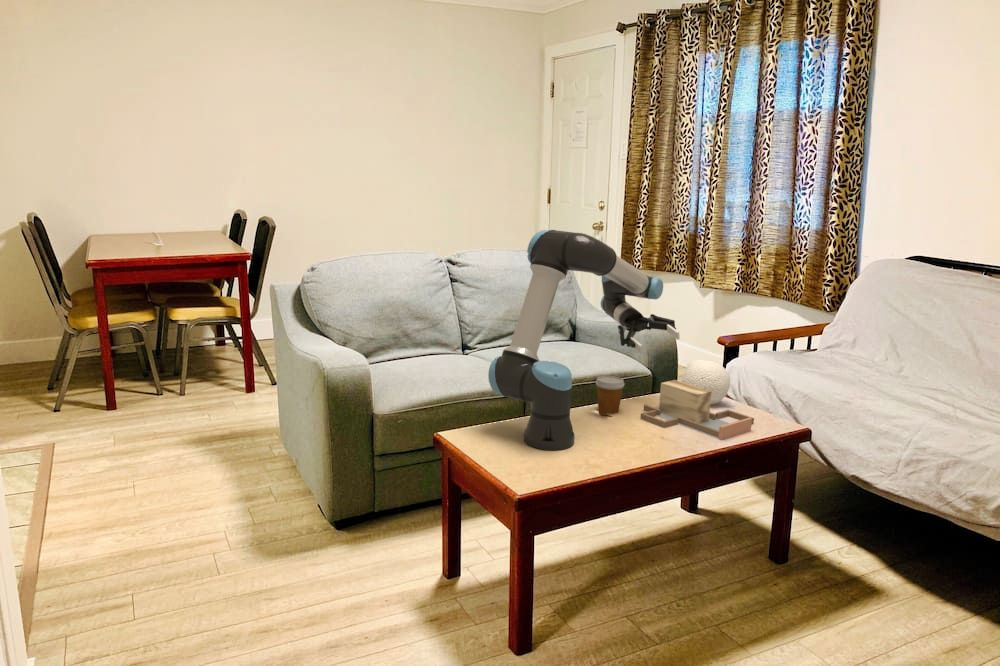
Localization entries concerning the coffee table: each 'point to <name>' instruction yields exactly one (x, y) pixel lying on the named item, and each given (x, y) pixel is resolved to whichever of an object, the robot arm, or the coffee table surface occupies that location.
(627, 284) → the robot arm
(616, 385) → the disposable coffee cup
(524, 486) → the coffee table surface
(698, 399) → the maple block
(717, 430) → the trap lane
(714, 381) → the decorative orb
